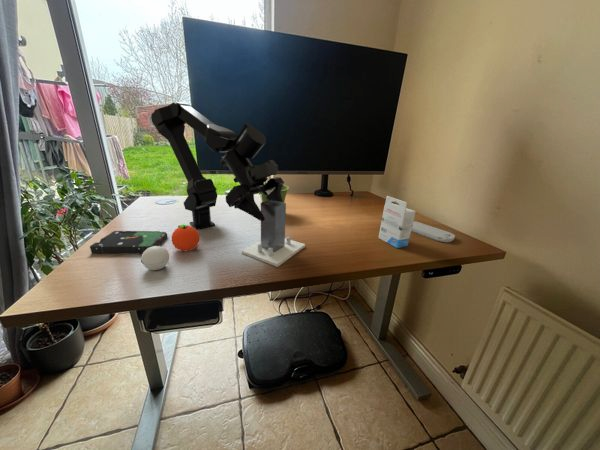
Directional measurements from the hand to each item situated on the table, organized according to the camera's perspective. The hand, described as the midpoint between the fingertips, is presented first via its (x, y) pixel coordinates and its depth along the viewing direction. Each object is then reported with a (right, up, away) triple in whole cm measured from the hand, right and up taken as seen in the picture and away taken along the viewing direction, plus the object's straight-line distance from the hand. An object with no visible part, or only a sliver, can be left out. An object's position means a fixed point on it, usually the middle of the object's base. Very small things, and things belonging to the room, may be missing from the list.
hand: (274, 215), depth 65 cm
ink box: (+37, -8, +13) cm, 40 cm away
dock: (0, -10, +4) cm, 10 cm away
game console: (+53, -6, +22) cm, 58 cm away
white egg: (-27, -13, -9) cm, 31 cm away
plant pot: (-4, +2, +32) cm, 32 cm away
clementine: (-25, -9, +1) cm, 26 cm away
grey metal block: (-1, -9, +4) cm, 9 cm away
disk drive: (-40, -9, +2) cm, 41 cm away
